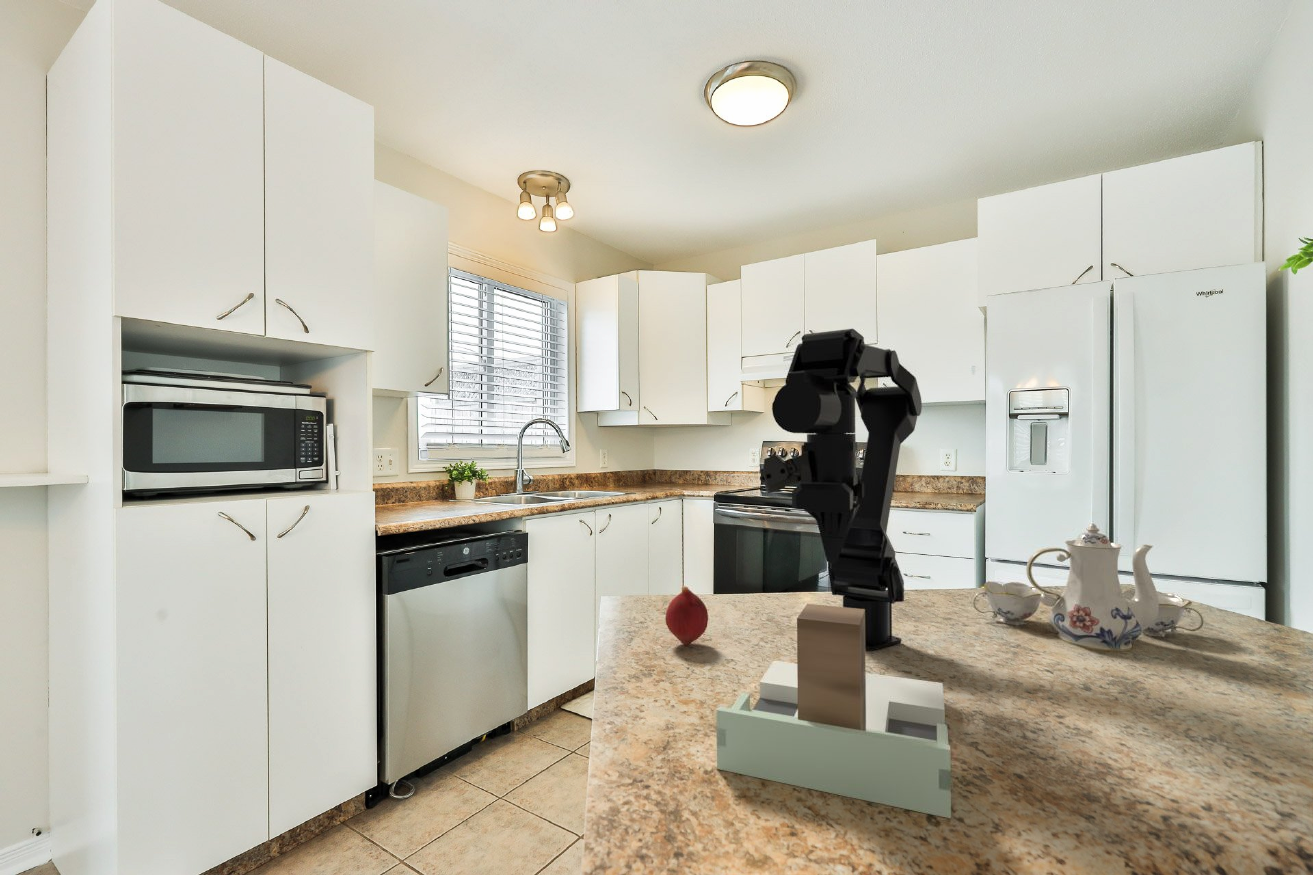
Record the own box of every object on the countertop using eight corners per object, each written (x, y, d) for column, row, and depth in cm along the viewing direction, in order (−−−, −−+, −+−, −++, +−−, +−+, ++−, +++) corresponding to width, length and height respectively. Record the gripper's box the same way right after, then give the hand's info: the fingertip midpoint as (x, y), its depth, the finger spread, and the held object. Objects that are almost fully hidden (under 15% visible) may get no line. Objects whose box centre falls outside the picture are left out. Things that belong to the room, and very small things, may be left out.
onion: (708, 638, 88) (708, 581, 88) (708, 652, 82) (707, 591, 82) (667, 637, 88) (667, 581, 88) (664, 651, 82) (663, 590, 83)
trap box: (774, 677, 73) (773, 634, 73) (942, 701, 66) (942, 654, 66) (716, 768, 53) (716, 709, 53) (951, 818, 46) (950, 750, 46)
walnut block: (808, 724, 56) (807, 603, 57) (866, 734, 55) (864, 609, 55) (798, 749, 52) (796, 618, 52) (860, 761, 50) (859, 624, 50)
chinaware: (1172, 636, 92) (1164, 523, 94) (1247, 663, 76) (1236, 527, 78) (966, 623, 99) (963, 519, 101) (996, 646, 83) (991, 521, 85)
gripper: (781, 435, 87) (781, 546, 87) (746, 434, 70) (747, 572, 70) (864, 434, 83) (865, 551, 83) (848, 433, 66) (850, 580, 66)
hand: (832, 562), depth 76 cm, fingers closed
